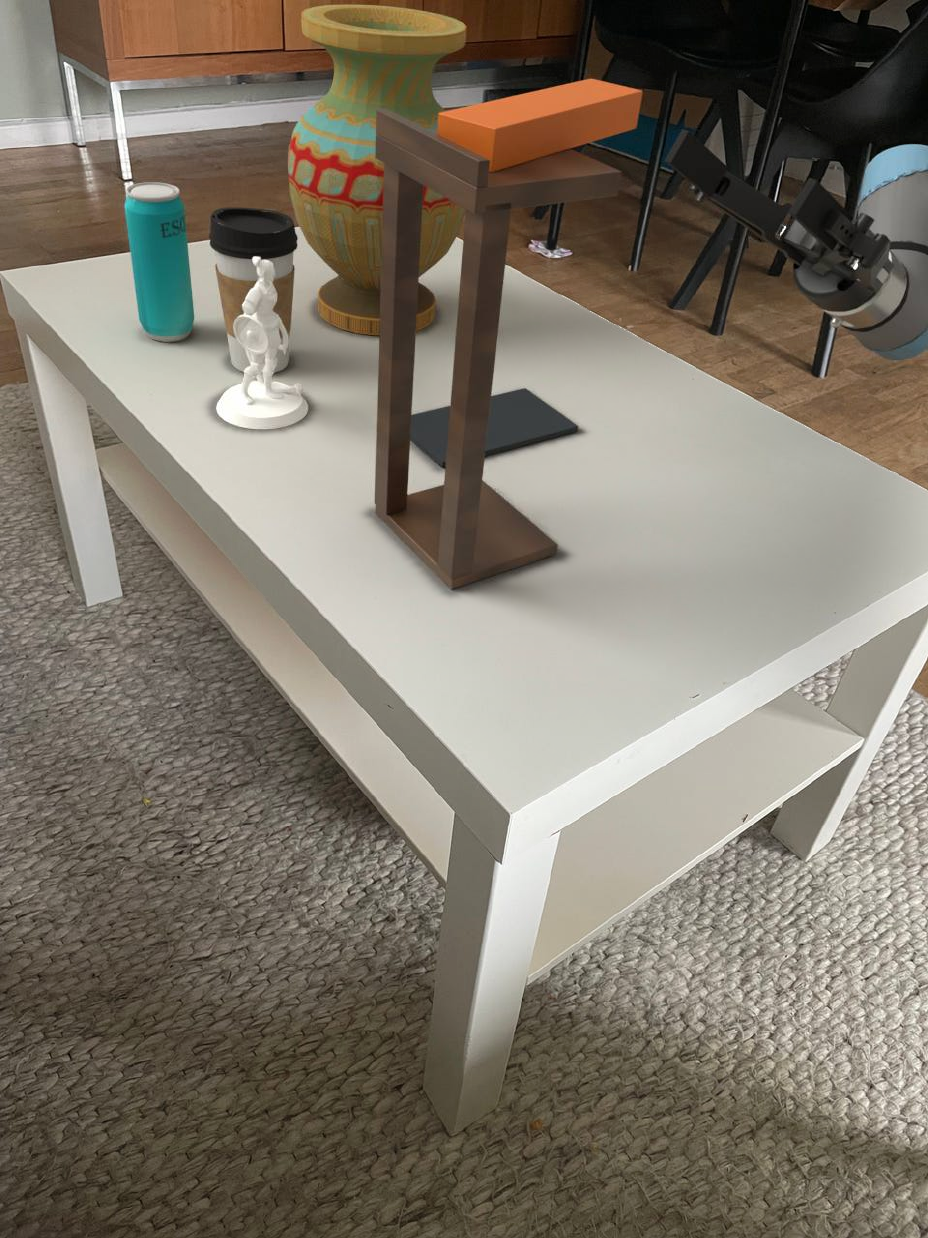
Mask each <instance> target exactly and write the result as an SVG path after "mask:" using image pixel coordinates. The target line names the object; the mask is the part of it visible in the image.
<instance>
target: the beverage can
mask: <svg viewBox="0 0 928 1238" xmlns="http://www.w3.org/2000/svg"><path fill="white" fill-rule="evenodd" d="M180 193H181V192H180V189H179V188H178V187H177V186H175V185H173V184H170V183H165V182H157V181H146V182H138V183H134V184H130V185H128V186H127V187H126V188H125V194H126V199H125V202H124V213H125V220H126V229H127V236H128V243H129V251H130V259H131V267H132V275H133V281H134V290H135V298H136V305H137V306H136V307H137V313H138V319H139V322H140V324H141V326H142V328H143V330H144V332H145V333H146V335H147V336H148V337H149V338H150V339H152V340H154V341H157V342H163V343H170V342H171V343H173V342H179V341H182V340H184V339H186V338H188V337H189V335H190V334H191V331H192V329H193V325H194V322H195V309H194V298H193V287H192V277H191V265H190V256H189V255H190V254H189V244H188V234H187V224H186V223H187V222H186V213H185V204H184V203H183V200H182V199H181V196H180Z"/></svg>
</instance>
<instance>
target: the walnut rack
mask: <svg viewBox="0 0 928 1238" xmlns="http://www.w3.org/2000/svg"><path fill="white" fill-rule="evenodd" d="M375 158H376V159H378V160H380V161H381V162H383V163H384V187H383V222H382V257H381V292H380V328H379V335H378V337H379V338H378V364H377V365H378V366H377V368H378V369H377V402H376V404H377V406H376V435H375V436H376V438H375V439H376V440H375V468H374V469H375V471H374V472H375V473H374V474H375V475H374V505H375V510H374V511H375V514H376V515H377V516H378V518H380V520H382V521H383V522H384V523H385V524H386V525H387V527H389V528H390V530H391V531H393V532H394V534H396V536H398V538H400V539H401V540H402V542H403V543H405V545H407V547H408V548H409V549H410V550H412V552H414V554H415V555H416V556H418V557H419V559H420V560H421V561H422V562H423V563H424V564H425V565H426V566H427V567H428V568H429V569H430V570H431V571H432V572H433V573H434V574H435V575H436V576H437V577H438V578H439V579H440V580H441V581H442V582H443V583H444V584H445V585H446V586H447V587H448V588H449V589H450V590H454V589H457V588H460V587H463V586H467V585H469V584H472V583H475V582H478V581H481V580H484V579H487V578H490V577H493V576H496V575H499V574H501V573H502V574H503V573H504V572H508V571H510V570H514V569H517V568H519V567H523V566H526V565H528V564H531V563H534V562H537V561H540V560H543V559H546V558H549V557H552V556H555V555H557V554H558V548H559V544H558V543H557V542H556V541H555V540H553V539H552V538H551V537H550V536H549V535H547V534H546V533H545V532H544V531H543V530H542V529H540V528H539V527H538V526H537V525H536V524H534V523H533V522H532V521H531V520H530V519H529V518H527V517H526V516H525V515H524V514H523V513H522V512H521V511H519V510H518V509H517V508H516V507H515V506H513V504H512V503H510V502H509V501H508V500H506V499H505V498H504V497H503V496H502V495H501V494H500V493H498V492H497V491H496V490H495V489H493V488H492V487H491V486H490V484H489V485H488V483H487V482H485V480H483V476H484V467H485V460H486V459H485V458H486V456H485V449H486V440H487V431H488V421H489V412H490V402H491V396H492V392H493V383H494V373H495V366H496V365H495V364H496V355H497V346H498V345H497V344H498V335H499V328H500V318H501V306H502V299H503V289H504V279H505V272H506V271H505V270H506V262H507V253H508V243H509V242H508V241H509V233H510V224H511V215H512V210H517V209H524V208H532V207H541V206H549V205H557V204H563V203H572V202H578V201H579V202H580V201H586V200H593V199H594V200H595V199H602V198H610V197H617V196H618V195H619V190H620V184H621V179H622V173H623V172H622V170H619V169H617V168H614V167H612V166H610V165H608V164H606V163H603V162H601V161H599V160H596V159H595V158H591V157H590V156H588V155H585V154H583V153H581V152H578V151H576V150H575V149H573V148H570V149H567V150H563V151H560V152H557V153H554V154H550V155H547V156H544V157H541V158H537V159H534V160H531V161H527V162H524V163H521V164H518V165H514V166H511V167H508V168H505V169H501V170H498V171H495V172H489V166H490V160H489V159H487V158H485V157H483V156H481V155H479V154H477V153H475V152H472V151H470V150H468V149H466V148H464V147H462V146H460V145H458V144H456V143H454V142H452V141H450V140H448V139H446V138H444V137H442V136H440V135H438V134H437V129H436V130H428V129H426V128H424V127H422V126H420V125H418V124H416V123H414V122H412V121H410V120H408V119H406V118H404V117H402V116H400V115H398V114H396V113H394V112H392V111H390V110H388V109H377V110H376V149H375ZM423 185H424V186H426V187H428V188H429V189H431V190H433V191H435V192H436V193H438V194H440V195H442V196H444V197H445V198H447V199H449V200H451V201H452V202H454V203H456V204H458V205H459V206H461V207H463V208H465V209H466V213H465V216H464V227H463V241H462V253H461V267H460V279H459V291H458V302H457V304H458V305H457V315H456V317H457V318H456V328H455V341H454V343H455V344H454V354H453V369H452V379H451V392H450V404H449V406H450V417H449V429H448V442H447V455H446V467H444V468H445V469H444V479H443V480H444V482H443V484H441V485H437V486H434V487H431V488H427V489H423V490H420V491H416V492H413V493H410V494H408V489H409V488H408V487H409V468H410V449H411V440H410V433H411V415H413V414H412V412H413V392H414V372H415V355H416V339H417V337H416V336H417V335H416V334H417V331H416V319H417V300H418V282H419V278H420V277H419V261H420V242H421V223H422V204H423Z"/></svg>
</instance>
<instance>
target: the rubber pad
mask: <svg viewBox="0 0 928 1238" xmlns="http://www.w3.org/2000/svg"><path fill="white" fill-rule="evenodd" d="M449 417H450V405H447V406H443V407H439V408H435V409H431V410H430V409H429V410H425V411H422V412H417V413H413V414H411V433H410V442H412V443H413V444H414V445H415V446H417V447H418V448H419V449H420V450H421V451H422V452H424V453H425V454H426V455H427V456H428V457H429V458H430V459H432V461H434V462H435V463H436V464H437V465H438V466H440V468H445V467H446V455H447V442H448V429H449ZM576 432H579V425H578V424H576V423H575V422H573V421H572V420H571V419H569V418H568V417H567V416H565V415H563V414H562V413H561V412H559V410H557V409H555V408H554V407H552V406H551V405H550V404H548V403H547V402H545V401H544V400H543V399H541V398H540V397H538V396H537V395H536V394H535V393H533V392H532V391H530V390H529V389H527V388H525V387H524V388H520V389H516V390H512V391H506V392H503V393H498V394H493V395H491V402H490V412H489V421H488V431H487V440H486V449H485V457H487V456H490V455H494V454H495V455H496V454H497V453H501V452H505V451H509V450H513V449H516V448H521V447H524V446H527V445H531V444H532V445H533V444H535V443H540V442H542V441H546V440H550V439H555V438H558V437H561V436H565V435H570V434H573V433H576Z"/></svg>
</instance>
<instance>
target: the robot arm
mask: <svg viewBox="0 0 928 1238" xmlns="http://www.w3.org/2000/svg"><path fill="white" fill-rule="evenodd" d="M663 161H664V162H665V163H666V164H668V165H669V166H670V167H671V168H672V169H673V170H674V171H675V172H677V173H678V174H679V175H680V176H681V177H683V178H684V180H686V181H687V182H689V184H691V185H690V186H689V188H688V189H689V191H690V192H691V193H692V194H694V195H696V196H695V198H694V201H695V202H696V203H698V204H702V203H703V201H704V200H705V202H708V203H709V204H710V205H712V206H713V207H715V208H716V209H718V210H719V211H721V212H722V213H723V214H725V215H727V216H728V217H729V218H731V219H732V220H734V221H735V222H737V223H739V224H740V225H741V226H743V227H744V228H746V229H747V230H749V231H750V232H752V234H754V235H755V236H756V237H757V238H759V239H760V241H761V242H763V243H764V244H769V245H771V246H772V247H774V248H776V249H777V250H779V251H781V252H782V254H783V256H784V257H785V258H786V259H787V260H789V261H790V262H792V263H793V265H792V266H793V267H792V276H793V281H794V284H795V287H796V288H797V290H798V291H799V293H801V294H802V296H804V297H805V298H807V299H808V300H809V301H810V302H811V303H812V304H814V305H815V306H816V307H817V308H819V309H821V310H822V311H823V312H824V313H825V314H827V315H829V317H830V318H831V320H830V322H829V325H830V327H831V328H834V329H838V328H839V327H840V326H841V327H842V328H843V329H845V330H846V331H847V332H848V333H849V334H851V335H852V336H853V337H854V338H855V339H856V340H857V341H858V342H859V343H860V345H861V346H862V347H863V348H865V349H866V350H869V352H873V353H875V355H878V356H879V357H881V358H883V359H886V360H890V361H905V360H909V359H912V358H915V357H918V356H919V355H921V354H923V353H924V352H925V351H926V350H928V145H924V144H918V143H917V144H915V143H914V144H913V143H909V144H901V145H897V146H893V147H890V148H888V149H884V150H882V151H881V152H880V153H878V154H876V155H875V156H874V157H873V158H872V159H871V161H869V162H868V164H867V166H866V168H865V170H864V175H863V181H862V183H861V191H860V196H859V200H858V203H857V208H858V212H857V218H856V219H854V218H855V217H854V216H852V214H850V213H849V212H848V211H847V210H846V208H844V207H843V205H842V204H841V203H840V202H839V201H838V200H837V199H836V198H835V197H834V196H833V195H832V194H831V193H830V192H829V190H827V189H826V188H825V187H824V186H823V185H822V184H821V183H820V182H819V180H817V179H814V178H812V177H809V178H808V179H807V181H806V182H805V184H804V186H803V188H802V189H801V190H800V192H799V194H798V196H797V197H796V198H795V200H794V201H793V203H790V202H784V203H781V204H780V203H778V202H776V201H775V200H774V199H772V198H770V197H769V196H767V195H765V194H764V193H763V192H760V191H759V190H758V189H756V188H754V187H753V186H751V185H750V184H749V183H748V182H747V183H746V182H745V181H744V180H742V179H740V178H739V177H737V176H736V175H734V174H733V173H731V172H729V171H728V170H729V166H728V165H726V164H725V163H724V162H723V161H722V160H721V159H720V158H719V157H718V156H717V155H716V154H714V152H712V151H711V150H710V149H709V148H708V147H707V146H706V145H705V144H703V143H702V142H701V140H699V139H698V138H697V137H696V136H695V135H693V133H692V132H690V131H689V130H687V129H684V128H682V129H681V130H680V132H679V134H678V136H677V137H676V139H675V140H674V143H673V145H672V146H671V148H670V150H669V152H668V153H667V155H666V157H665V159H664V160H663ZM787 215H790V216H791V219H790V220H789V221H788V222H787V224H786V225H784V224H783V223H784V221H785V220H786V217H787ZM778 238H779V239H778Z"/></svg>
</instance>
